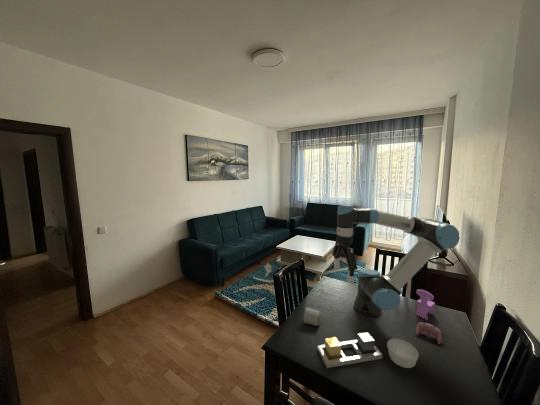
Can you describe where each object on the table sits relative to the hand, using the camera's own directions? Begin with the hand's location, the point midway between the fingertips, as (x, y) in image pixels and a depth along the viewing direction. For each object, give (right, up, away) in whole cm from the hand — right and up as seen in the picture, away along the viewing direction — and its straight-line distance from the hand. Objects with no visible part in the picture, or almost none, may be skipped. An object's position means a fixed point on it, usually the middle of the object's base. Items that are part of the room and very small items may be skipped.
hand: (343, 275), depth 111 cm
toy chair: (+49, -26, +11) cm, 57 cm away
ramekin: (+18, -29, -19) cm, 39 cm away
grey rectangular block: (+5, -29, -15) cm, 33 cm away
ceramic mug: (-15, -27, +5) cm, 31 cm away
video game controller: (+39, -28, -6) cm, 48 cm away
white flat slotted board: (-3, -29, -16) cm, 33 cm away
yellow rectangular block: (-11, -29, -18) cm, 36 cm away
